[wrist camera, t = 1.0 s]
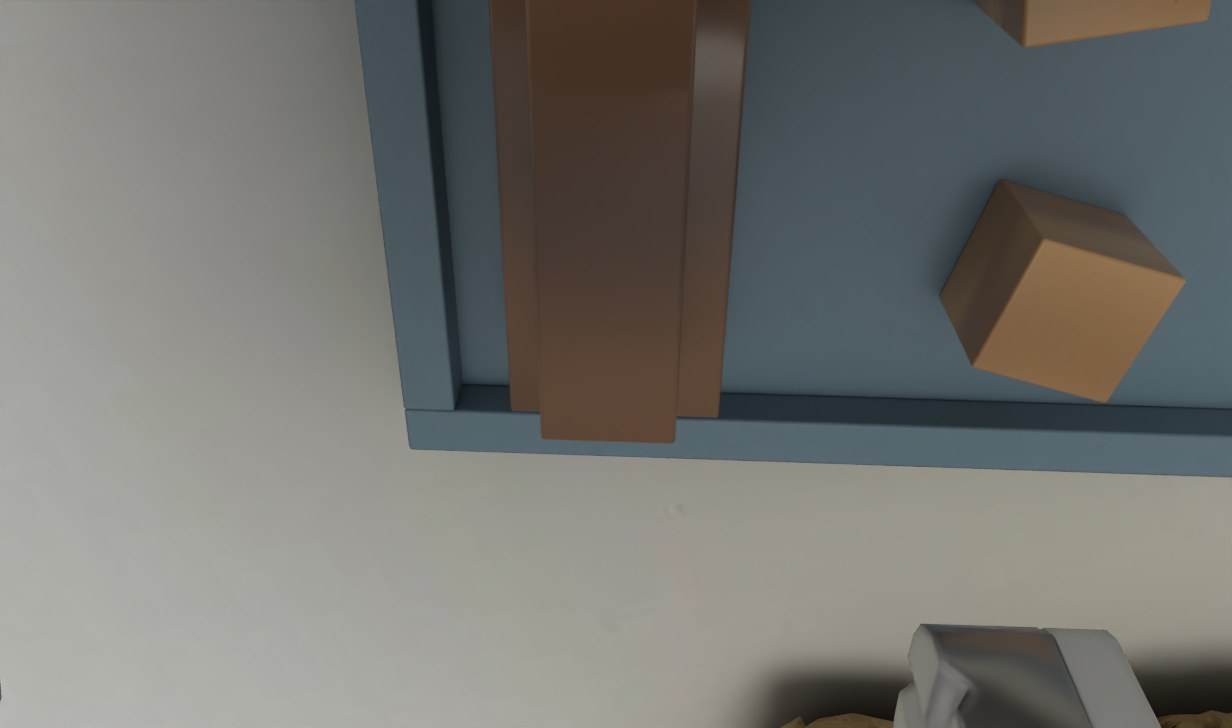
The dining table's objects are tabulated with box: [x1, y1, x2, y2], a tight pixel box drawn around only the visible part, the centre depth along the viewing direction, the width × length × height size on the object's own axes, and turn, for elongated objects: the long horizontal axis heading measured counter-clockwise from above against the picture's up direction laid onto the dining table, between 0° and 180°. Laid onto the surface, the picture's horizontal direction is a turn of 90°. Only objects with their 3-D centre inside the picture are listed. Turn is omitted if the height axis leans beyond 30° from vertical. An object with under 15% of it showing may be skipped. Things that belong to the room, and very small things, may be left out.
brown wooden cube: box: [940, 180, 1186, 403], centre depth 21 cm, size 3×3×3 cm
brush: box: [489, 0, 752, 444], centre depth 18 cm, size 12×4×6 cm, turn 179°
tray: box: [354, 0, 1232, 477], centre depth 21 cm, size 17×22×2 cm
